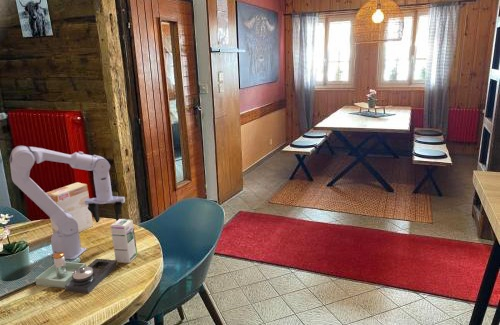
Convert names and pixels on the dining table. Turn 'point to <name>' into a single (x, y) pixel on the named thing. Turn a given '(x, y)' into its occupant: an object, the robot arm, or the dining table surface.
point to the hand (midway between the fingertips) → (107, 220)
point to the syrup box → (124, 240)
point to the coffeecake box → (73, 204)
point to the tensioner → (90, 276)
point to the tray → (51, 278)
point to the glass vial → (60, 265)
